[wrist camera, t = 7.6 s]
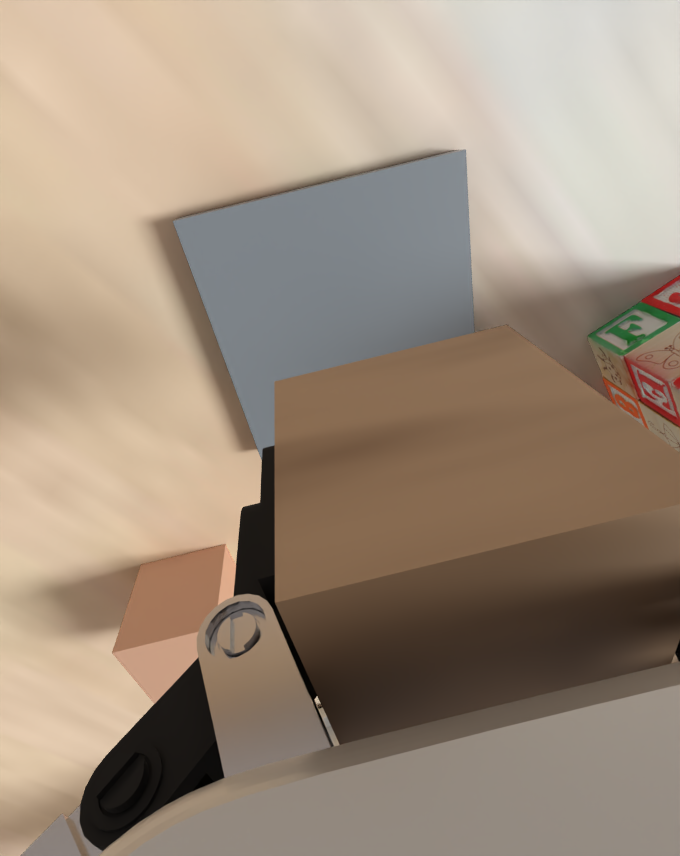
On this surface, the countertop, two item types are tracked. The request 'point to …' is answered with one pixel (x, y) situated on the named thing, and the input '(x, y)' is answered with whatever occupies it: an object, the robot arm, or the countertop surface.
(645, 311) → the stack of blocks
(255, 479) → the countertop surface
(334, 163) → the countertop surface
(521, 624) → the walnut brick
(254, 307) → the baseplate
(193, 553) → the salmon pink cube
